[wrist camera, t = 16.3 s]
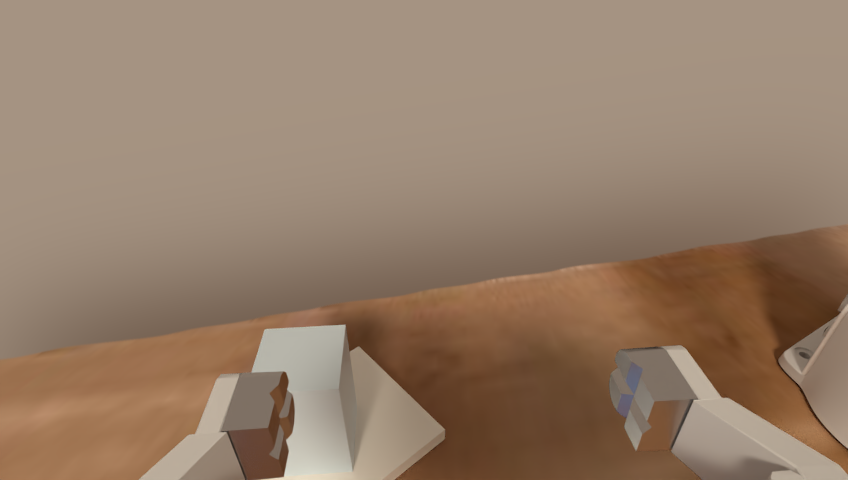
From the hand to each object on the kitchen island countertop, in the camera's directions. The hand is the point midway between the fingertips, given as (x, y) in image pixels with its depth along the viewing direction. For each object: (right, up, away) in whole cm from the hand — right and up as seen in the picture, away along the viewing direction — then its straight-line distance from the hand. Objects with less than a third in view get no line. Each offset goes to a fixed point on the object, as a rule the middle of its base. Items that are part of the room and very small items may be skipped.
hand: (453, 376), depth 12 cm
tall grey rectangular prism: (-9, -12, +25) cm, 29 cm away
